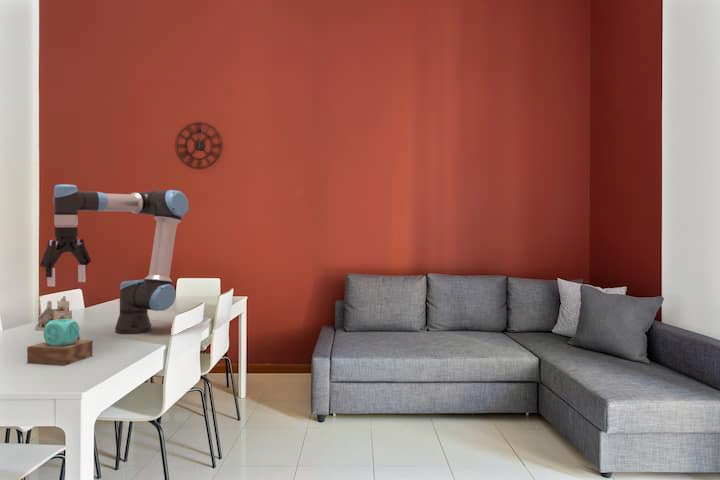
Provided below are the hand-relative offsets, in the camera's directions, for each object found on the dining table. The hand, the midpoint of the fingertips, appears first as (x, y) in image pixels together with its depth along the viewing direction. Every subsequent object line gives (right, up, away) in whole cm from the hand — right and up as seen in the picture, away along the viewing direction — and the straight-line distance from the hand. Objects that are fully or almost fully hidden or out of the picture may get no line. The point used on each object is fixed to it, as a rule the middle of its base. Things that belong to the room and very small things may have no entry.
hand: (67, 284), depth 189 cm
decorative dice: (+4, -20, -10) cm, 23 cm away
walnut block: (+3, -26, -10) cm, 28 cm away
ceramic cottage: (-31, -25, +44) cm, 59 cm away
